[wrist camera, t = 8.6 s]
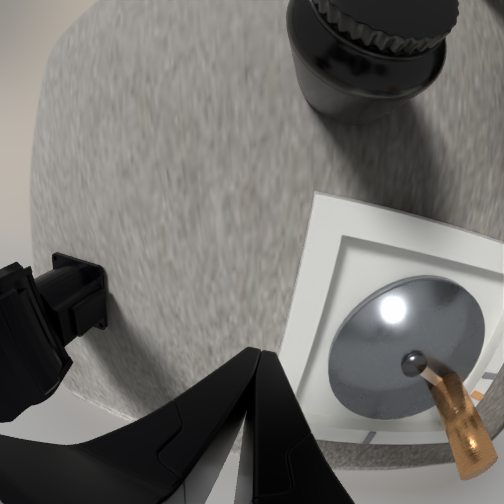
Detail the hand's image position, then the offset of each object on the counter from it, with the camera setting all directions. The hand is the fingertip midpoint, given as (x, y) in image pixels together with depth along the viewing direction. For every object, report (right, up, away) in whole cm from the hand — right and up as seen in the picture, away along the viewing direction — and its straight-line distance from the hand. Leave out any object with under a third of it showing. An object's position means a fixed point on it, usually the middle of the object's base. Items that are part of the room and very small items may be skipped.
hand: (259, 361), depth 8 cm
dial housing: (+12, -4, +12) cm, 18 cm away
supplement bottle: (+6, +14, +8) cm, 18 cm away
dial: (+12, -5, +11) cm, 17 cm away
